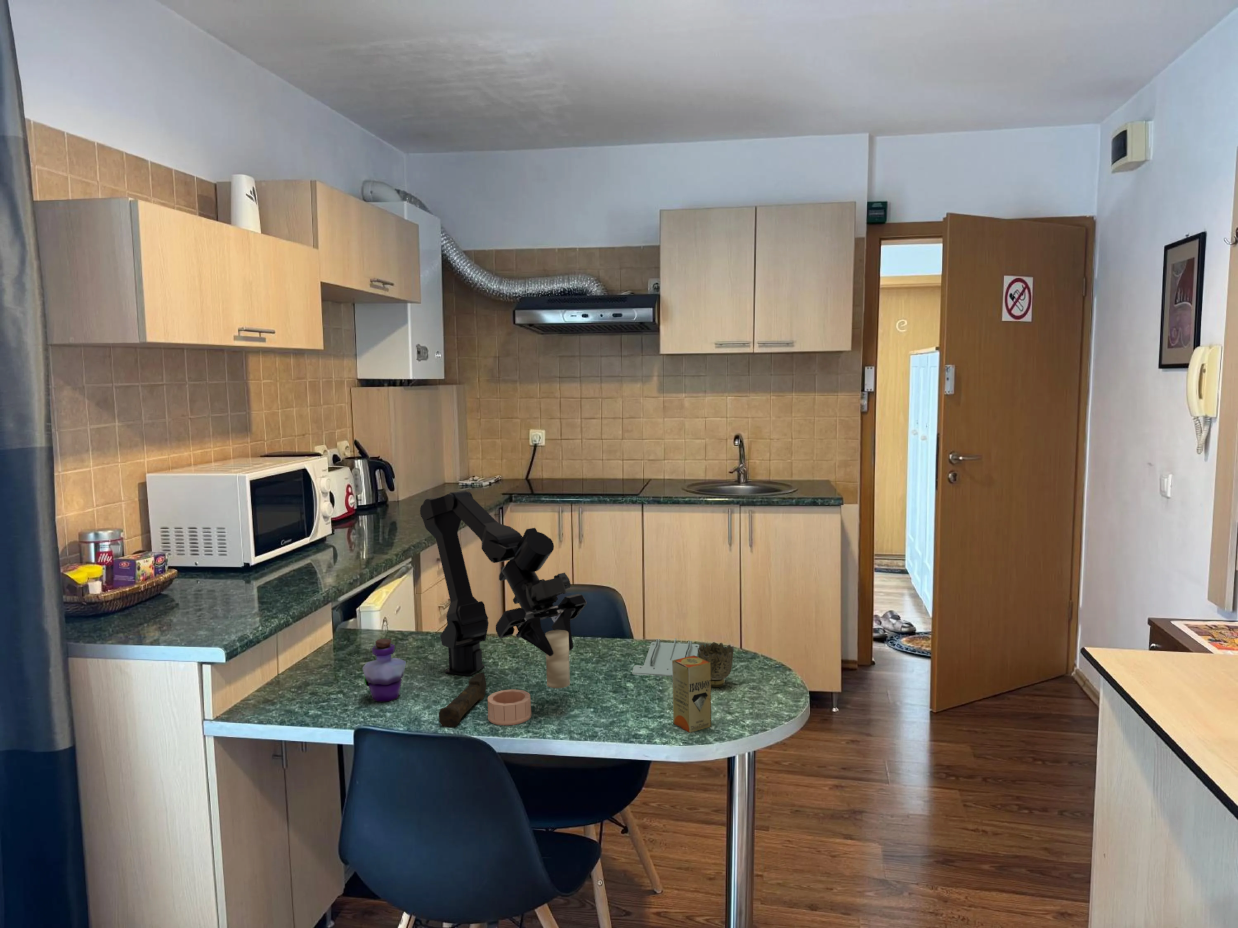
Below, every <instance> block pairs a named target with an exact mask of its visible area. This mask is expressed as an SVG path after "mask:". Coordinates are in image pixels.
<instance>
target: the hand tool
mask: <svg viewBox="0 0 1238 928" xmlns="http://www.w3.org/2000/svg"><path fill="white" fill-rule="evenodd" d="M486 692H487V680H486V674H485V673H484V672H479V673H476V674H475V675H474V676H473V677H471V678H470V679H469V680H468V685H467V686H466V688H464V690H463V691H461V692H460V693H459V694H458V695H457V696H456V697H455V698H454V699H453V700H452V701H451V702H450V703H448V705H446V706H445V707H442V708H440V709H439V712H438V722H439V724H440V725H441V726H442V727H448V728H449V727H450V728H454V727H457V726H458V725H459V724H460V723H461V719H462V717H463V716H464V715H466V713H467V712H469V710H471V708H472V707H474V705H475V704H476V703H477V702H481V701H483V700H484V697H485V694H486Z"/></svg>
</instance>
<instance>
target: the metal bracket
mask: <svg viewBox="0 0 1238 928" xmlns="http://www.w3.org/2000/svg"><path fill="white" fill-rule="evenodd" d="M699 645H700V644H697V643H693V641H692V640H688V642H687V643H681V642H677V637H675V638H674V641H673V642H663V641H661V638H660V639H659V638H656V641H652V642H650V644H649V649H648V651H647V654H646V658H645V660H644V663H643V665H639V664H638V665H637V664H635V665H634V666H633V668H632V672H631V674H632V675H637V676H658V677H659V676H661V677H673V671H672V660H676V659H680V658H685V657H689V656H693V655H694V656H697V657H698V649H699Z"/></svg>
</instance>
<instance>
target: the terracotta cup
mask: <svg viewBox="0 0 1238 928" xmlns="http://www.w3.org/2000/svg"><path fill="white" fill-rule="evenodd" d="M531 700H532V699H531V694H530V693H529V692H527V691H525V690H522V689H515V688H513V689H501V690H499V691H495V692H493V693H491V694H490V695H488V696H487V720H488V721H489V723H491V724H494V725H496V726H515V725H519V724H523V723H525V722H527V721H529V720H530V719H531V718H532V707H531V706H532V704H531Z"/></svg>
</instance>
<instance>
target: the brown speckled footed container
mask: <svg viewBox="0 0 1238 928" xmlns="http://www.w3.org/2000/svg"><path fill="white" fill-rule="evenodd" d="M734 648H735V647H734V646H732V645H731V644H730V643H729V644H728V645H727V646H724V643H723V642H719V644H718V643H717V642H715V641H714V642H711V643H710V644H709V643H708V642H706V643H705V645H704V644H699V649H698V654H697V657H699V658H701V659H704V660H706V661H708V662H710V665H711V688H719V687H720V688H721V687H723V686H724V685H725V683H726V680H725V679H726V678H728V677H729V675H730V674H731V672H732V667H733V660H734V650H735V649H734Z"/></svg>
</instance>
